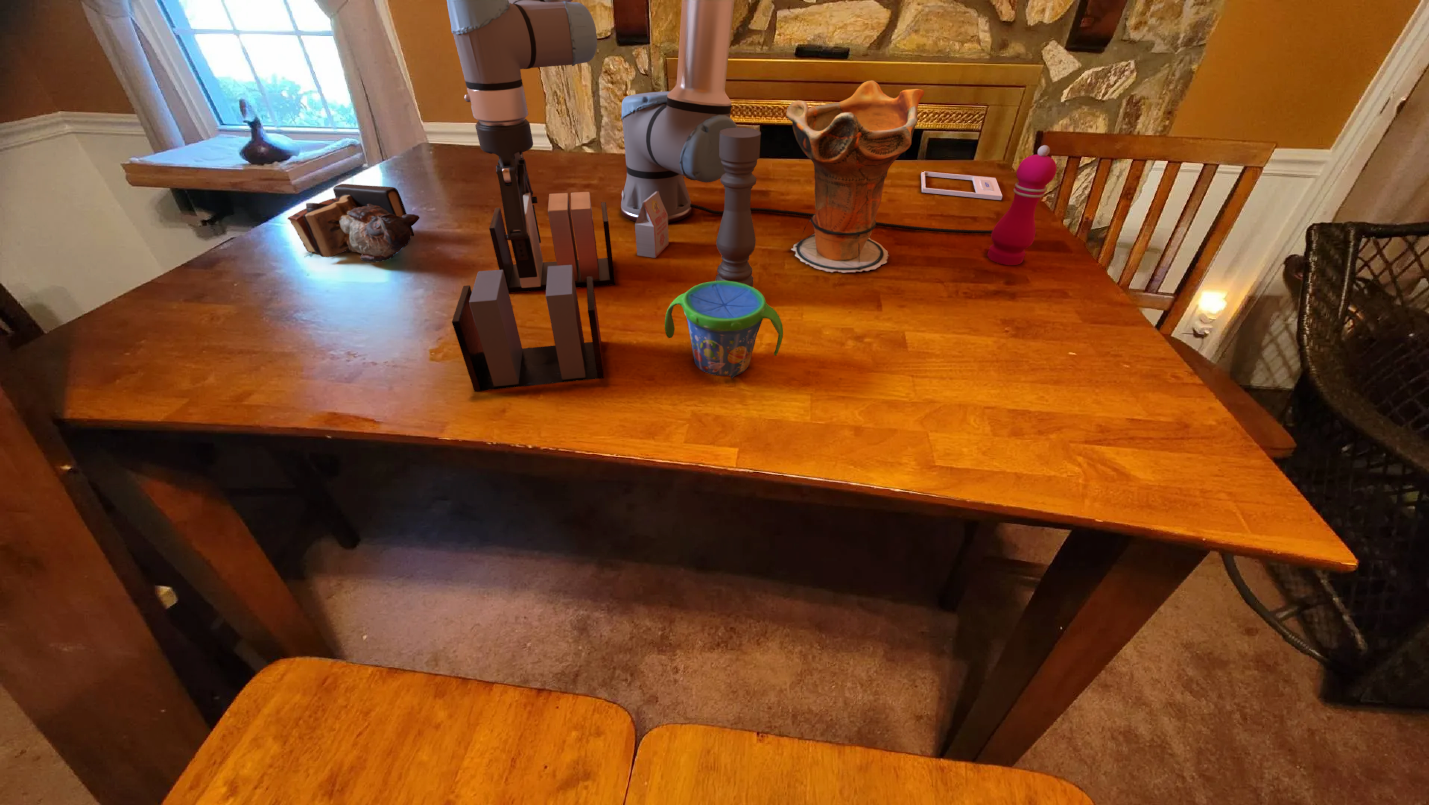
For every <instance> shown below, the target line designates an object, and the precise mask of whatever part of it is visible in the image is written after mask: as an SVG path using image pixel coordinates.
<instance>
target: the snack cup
mask: <svg viewBox="0 0 1429 805" xmlns="http://www.w3.org/2000/svg"><path fill="white" fill-rule="evenodd" d="M677 305H679V306H681V308H682V310H683V313H684V316H685V317H686V322H687V327H688V335H689V340H690V345H691V350H692V351H691V352H692V357H693V359H694V360H693V361H694V364H695V366H696V367H697V368H698V369H699V370H700V371H702V372H703V373H706V374H709V375H712V376H723V377H726V376H727V377H728V376H730V379H731V380H732V379H733V378H735V377H736V376H739V375H741V374H743V373H744V372H745V371H746V370H748V368H749V366H750V364H751V360H752V355H753V352H754V348H755V345H756V339H757V337H758V333H759V331H760V328H761V325H762V323H763V320H764V319H767V320H769V321H770V322H771V324H772V326H773V327H774V330H775V331H776V333H777V335H778V336H777V342H776V345H775V350H774V352H773V355H774V356H775V357H777V355H778V353H779V351H780V348H781V345H782V341H783V337H784V327H783V322H782V319H781V317H780V315H779V314H778V312H777V311H776V310H775V309H774V307H772V306H771V305H769V304H768V303H767V301H766V298H765V296H764V294H763V293H762V292H761V291H759V290H758V289H756V288H755V287H754V286H753V287H751V286H749V285H746V284H743V283H738V282H732V281H716V280H712V281H707V282H702V283H699V284H696V285H694V286H693V287H691V288H690V289H688V290H687V291H686V292H684V293H680V295H677V297H675V298H674V299H673V300H672V302H671V303H670V304H669V306H668V307H667V309H666V313H665V316H664V317H665V318H664V330H665V331H664V332H665V335H666V337H667V338H668V339H671V338H673V336H674V334H675V329H676V328H675V327H676V326H675V322H674V318H673V314H672V313H673V311H674V308H675V307H676V306H677Z"/></svg>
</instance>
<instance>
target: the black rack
mask: <svg viewBox="0 0 1429 805" xmlns="http://www.w3.org/2000/svg"><path fill="white" fill-rule="evenodd" d="M591 201H592V200H591V193H590V191H576V192H570V199H569V192H558V193H556V192H555V193H549V194H548V204H547V215H548V221H549V225H550V233H551V238H552V243H553V244H552V245H553V249H554V255H555V261H543V266H542V276H541V286H540V287H527V288H522V287H521V282H520V278H519V274H518V270H517V265H516V263H515V264H514V262H513V257H512V254H511V249H510V245H509V244H510V243H509V240H505V237H504V235H506V234H507V230H506V225H505V222H504V217H503V213H502V210H501V207H495V208H494V211H493V214H492V217H491V222H490V224H489V227H488V229H489V234H490V239H491V243H492V245H493V250H494V255H495V258H496V262H497V266H498V270H503V271H504V275H505V279H506V283H507V287H508V292H509V294H512V293H526V292H527V293H529V292H540V291H546V286H547V273H548V266H561V265H572V266H573V273H574V279H575V286H576V289H578V288H587V281H586V277H589V276H592V277H593V284H594V287H604V286H615V285H616V279H615V270H614V269H615V268H614V260H613V259H614V258H613V252H612V241H611V232H610V224H609V214H608V209H607V202H606V201H602V202H601V201H600V205H601V214H602V223H603V232H604V240H605V241H604V242H605V249H606V257H601V258H598V257H599V256H598V250H597V242H596V233H595V226H594V217H593V209H592V202H591Z"/></svg>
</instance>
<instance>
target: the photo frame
mask: <svg viewBox="0 0 1429 805" xmlns="http://www.w3.org/2000/svg"><path fill="white" fill-rule="evenodd" d="M923 171H924V170H923ZM926 177H934V178H943V179H944V178H945V179H953V180H954V179H956V180H963V181H964V180H965V181H972V184H973V188H974V191H975V192H972V191H963V190H962V191H961V190H953V189H943V188H932V187H926ZM920 182H921V183H920V184H921V193H923V194H925V193H926V194H938V195H944V196H945V195H946V196H956V197H966V198H974V199H975V198H976V199H986V200H996V201H1002V200H1003V194H1002V192H1001V188H1000V186H999V183H998V181H997V178H996V177H990V176H979V175H970V174H957V173H947V172H946V173H945V172H935V171H924V172H922V171H921V173H920Z"/></svg>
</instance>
